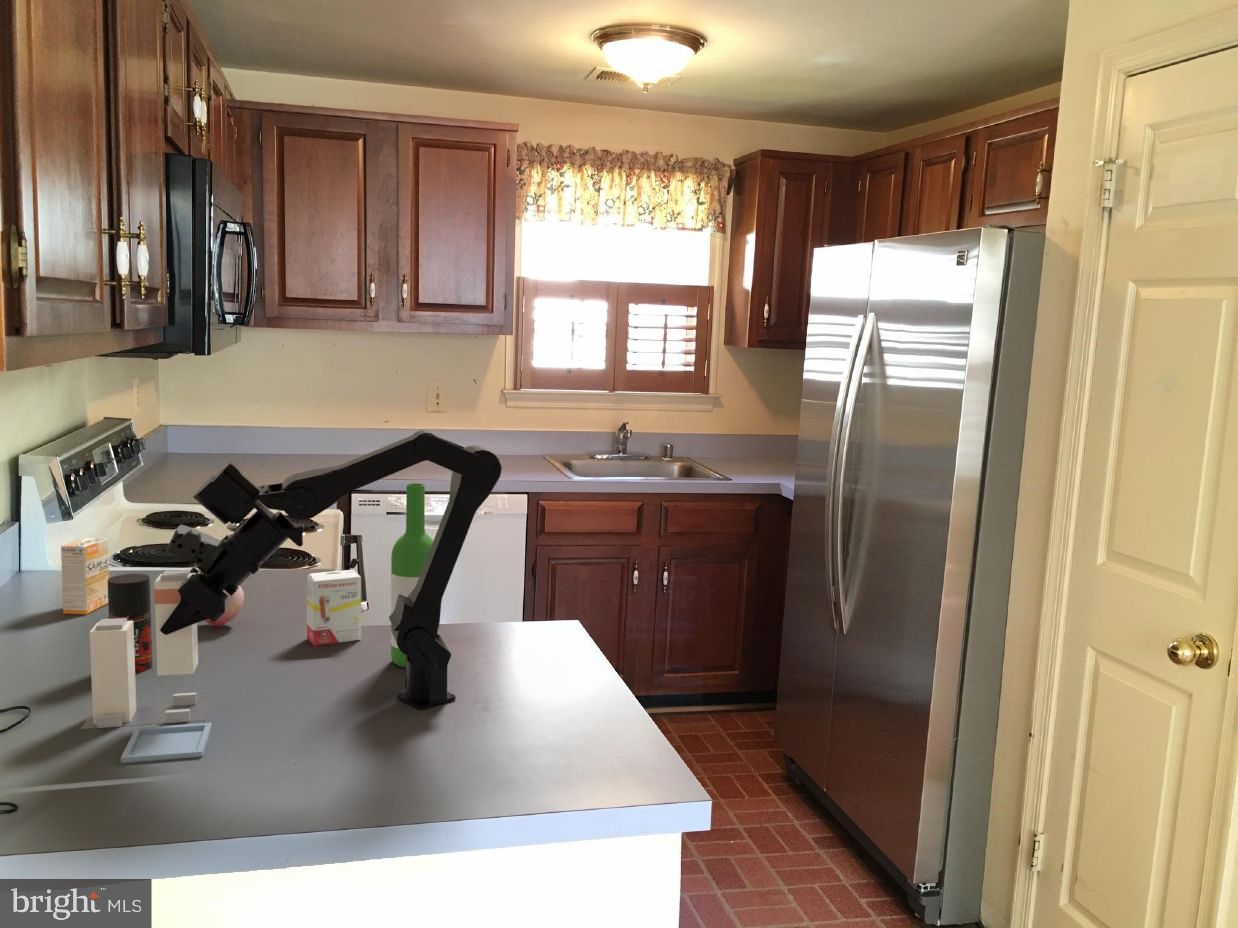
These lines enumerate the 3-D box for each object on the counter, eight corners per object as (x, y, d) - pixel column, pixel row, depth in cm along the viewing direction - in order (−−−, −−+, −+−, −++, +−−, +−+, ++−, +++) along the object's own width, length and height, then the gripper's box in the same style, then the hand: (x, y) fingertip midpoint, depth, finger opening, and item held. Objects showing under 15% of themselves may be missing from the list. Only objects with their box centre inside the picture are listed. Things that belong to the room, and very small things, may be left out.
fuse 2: (198, 662, 138) (196, 568, 136) (193, 673, 133) (190, 576, 131) (163, 664, 136) (160, 569, 134) (156, 675, 132) (153, 578, 130)
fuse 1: (136, 709, 138) (133, 616, 136) (129, 721, 133) (126, 625, 132) (101, 711, 137) (97, 617, 135) (93, 724, 132) (89, 627, 130)
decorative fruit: (253, 621, 182) (253, 568, 180) (232, 634, 174) (231, 579, 172) (205, 618, 183) (204, 566, 181) (182, 631, 175) (180, 576, 173)
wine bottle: (427, 671, 158) (428, 489, 154) (382, 667, 160) (382, 486, 156) (445, 656, 166) (447, 482, 162) (402, 652, 167) (403, 479, 163)
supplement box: (87, 615, 182) (85, 546, 180) (62, 614, 182) (59, 545, 180) (111, 603, 190) (109, 537, 188) (87, 602, 190) (84, 536, 188)
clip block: (211, 704, 142) (211, 691, 141) (205, 723, 135) (204, 709, 135) (93, 712, 138) (93, 698, 137) (80, 732, 131) (80, 718, 130)
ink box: (312, 646, 169) (312, 580, 167) (306, 638, 173) (305, 573, 171) (362, 640, 173) (362, 575, 171) (354, 632, 177) (354, 569, 176)
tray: (211, 730, 133) (211, 722, 133) (202, 760, 124) (202, 751, 124) (136, 736, 130) (135, 727, 130) (120, 766, 121) (120, 757, 121)
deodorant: (142, 661, 158) (139, 571, 156) (159, 670, 155) (156, 578, 153) (104, 670, 154) (100, 578, 152) (121, 680, 150) (117, 585, 148)
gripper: (214, 494, 142) (133, 571, 140) (194, 519, 124) (101, 607, 122) (272, 546, 145) (194, 621, 143) (261, 577, 127) (171, 664, 125)
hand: (166, 627), depth 134 cm, fingers closed on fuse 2, 4 cm apart
